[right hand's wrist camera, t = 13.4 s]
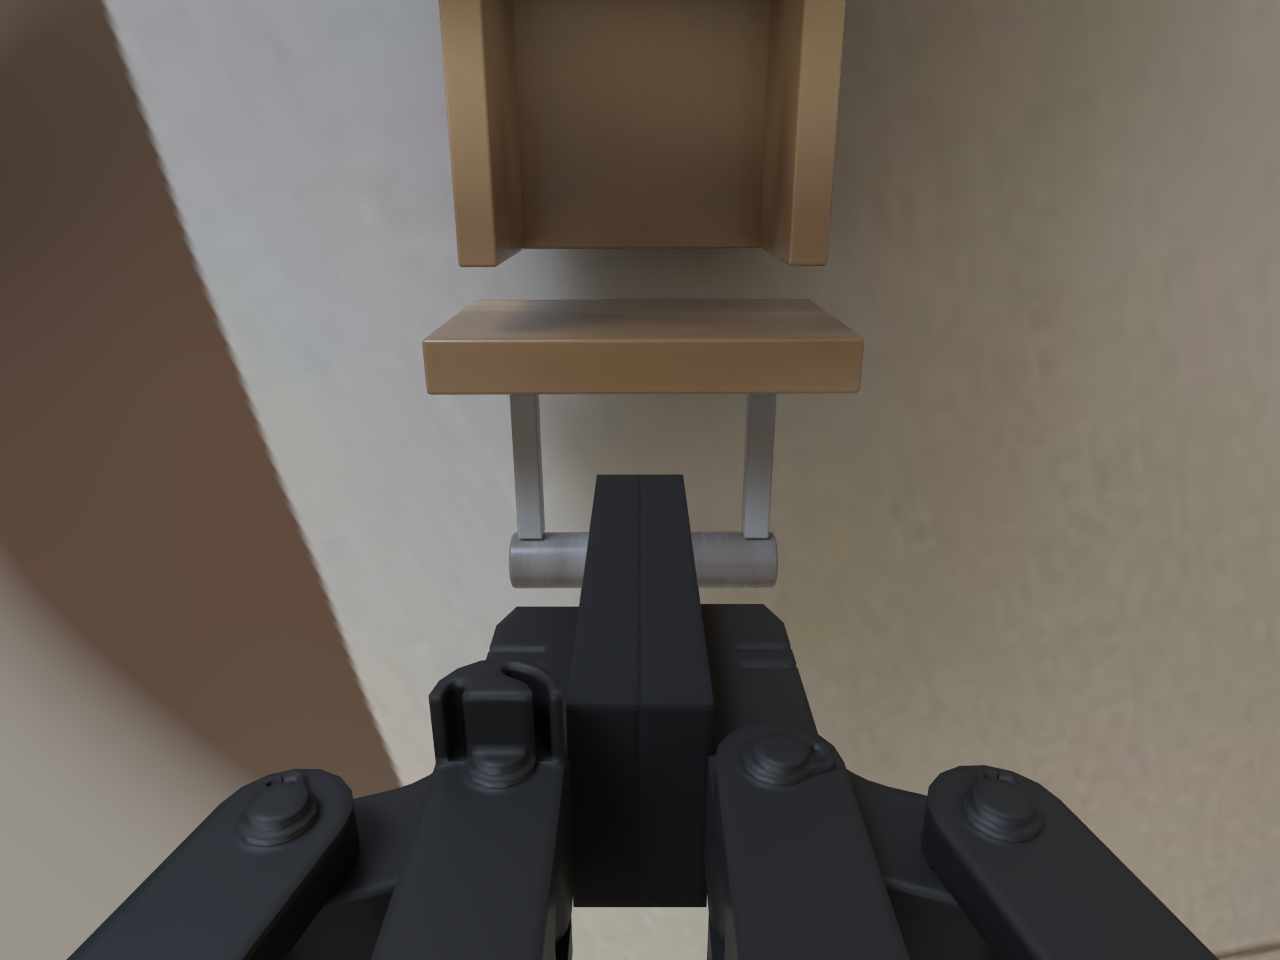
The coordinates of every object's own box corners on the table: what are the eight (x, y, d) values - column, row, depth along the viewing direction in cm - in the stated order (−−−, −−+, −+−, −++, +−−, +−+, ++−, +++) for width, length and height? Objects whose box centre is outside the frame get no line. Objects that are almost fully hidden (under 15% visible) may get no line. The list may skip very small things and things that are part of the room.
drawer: (796, 516, 25) (840, 612, 20) (489, 517, 25) (446, 614, 20) (862, -491, 17) (968, -806, 12) (418, -489, 17) (313, -805, 12)
